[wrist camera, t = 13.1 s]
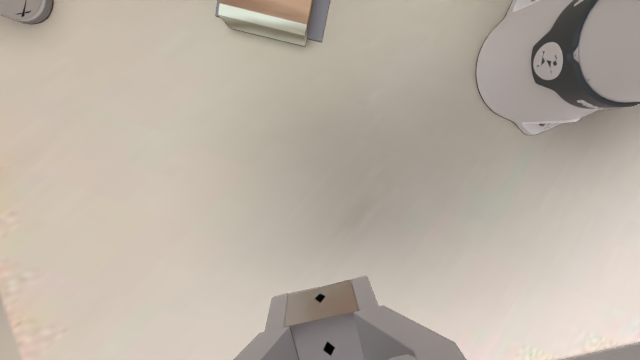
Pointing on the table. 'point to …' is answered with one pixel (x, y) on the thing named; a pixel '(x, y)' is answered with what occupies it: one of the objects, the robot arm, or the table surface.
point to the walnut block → (269, 18)
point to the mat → (311, 19)
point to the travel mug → (26, 10)
